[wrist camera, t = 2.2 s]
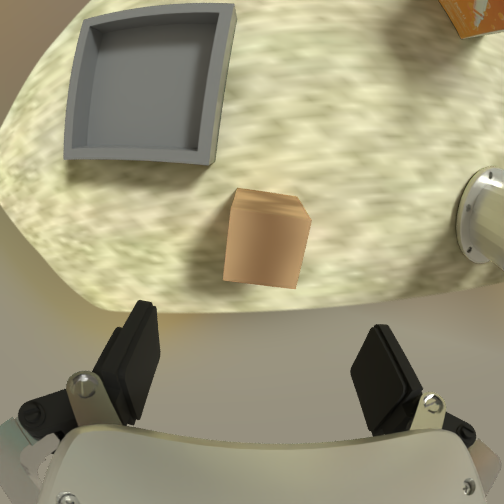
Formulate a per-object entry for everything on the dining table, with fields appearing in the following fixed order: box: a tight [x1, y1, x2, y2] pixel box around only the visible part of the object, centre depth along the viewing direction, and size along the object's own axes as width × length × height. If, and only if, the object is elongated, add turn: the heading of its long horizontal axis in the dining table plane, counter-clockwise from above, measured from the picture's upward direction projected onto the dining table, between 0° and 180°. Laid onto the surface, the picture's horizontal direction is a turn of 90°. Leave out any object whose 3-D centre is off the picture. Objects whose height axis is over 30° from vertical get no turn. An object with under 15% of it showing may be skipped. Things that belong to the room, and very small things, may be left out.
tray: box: [64, 3, 237, 165], centre depth 19 cm, size 14×14×4 cm
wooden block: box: [223, 188, 312, 289], centre depth 23 cm, size 6×6×7 cm
